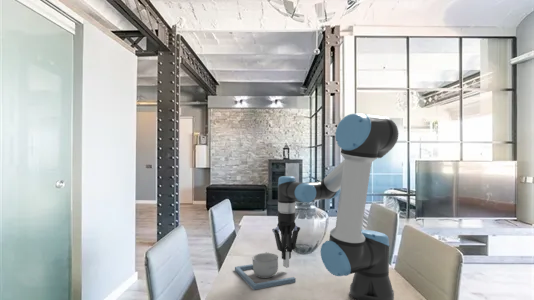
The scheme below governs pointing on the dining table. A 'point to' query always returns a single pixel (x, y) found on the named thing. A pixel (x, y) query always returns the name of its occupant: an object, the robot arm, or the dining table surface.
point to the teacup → (265, 264)
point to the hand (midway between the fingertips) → (286, 266)
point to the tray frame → (263, 284)
